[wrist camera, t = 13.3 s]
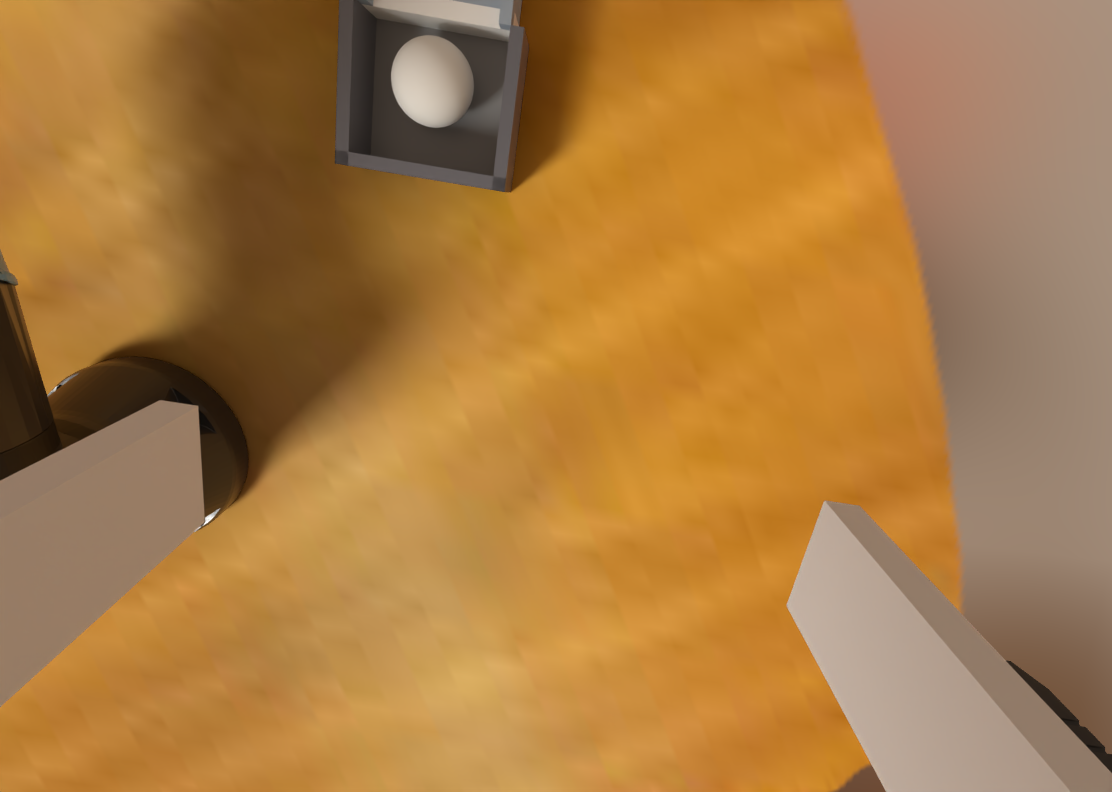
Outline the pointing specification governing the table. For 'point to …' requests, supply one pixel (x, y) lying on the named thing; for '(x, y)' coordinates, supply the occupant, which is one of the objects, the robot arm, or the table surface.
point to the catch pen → (400, 142)
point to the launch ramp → (452, 15)
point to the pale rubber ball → (432, 81)
